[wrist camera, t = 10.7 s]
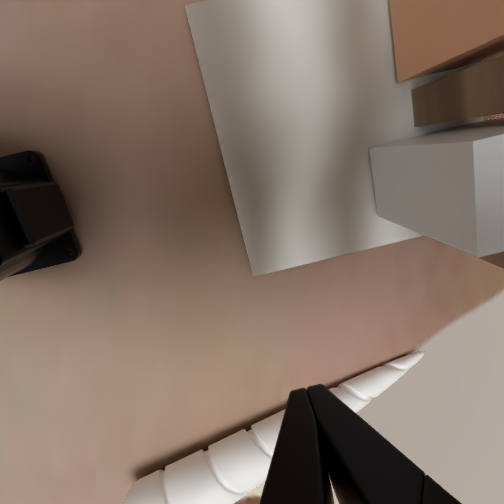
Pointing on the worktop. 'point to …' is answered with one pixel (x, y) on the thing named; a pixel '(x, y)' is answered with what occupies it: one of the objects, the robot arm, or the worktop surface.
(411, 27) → the terracotta plug
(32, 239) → the robot arm
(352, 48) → the socket block
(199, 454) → the unicorn horn
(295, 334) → the worktop surface
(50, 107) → the worktop surface
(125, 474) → the worktop surface
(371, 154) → the grey plug
